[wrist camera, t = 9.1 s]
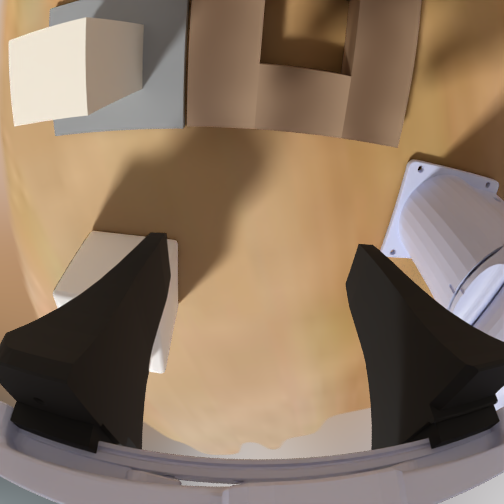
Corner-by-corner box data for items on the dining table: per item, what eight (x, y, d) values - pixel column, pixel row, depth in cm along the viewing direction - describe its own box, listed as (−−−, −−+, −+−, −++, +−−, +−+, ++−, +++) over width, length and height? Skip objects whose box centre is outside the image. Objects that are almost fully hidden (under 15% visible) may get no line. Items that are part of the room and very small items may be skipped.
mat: (190, -16, 12) (189, -17, 12) (184, 126, 17) (183, 128, 17) (54, 9, 12) (50, 9, 11) (58, 133, 17) (55, 136, 17)
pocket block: (408, -30, 11) (423, -35, 9) (384, 137, 18) (397, 147, 16) (204, -64, 10) (199, -75, 8) (193, 118, 17) (187, 126, 16)
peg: (143, 24, 13) (86, 17, 7) (142, 88, 15) (87, 115, 10) (82, 34, 13) (8, 41, 7) (83, 94, 15) (14, 126, 10)
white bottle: (90, 228, 22) (17, 355, 12) (179, 238, 22) (139, 387, 13) (103, 294, 26) (59, 412, 16) (179, 305, 27) (155, 435, 17)
